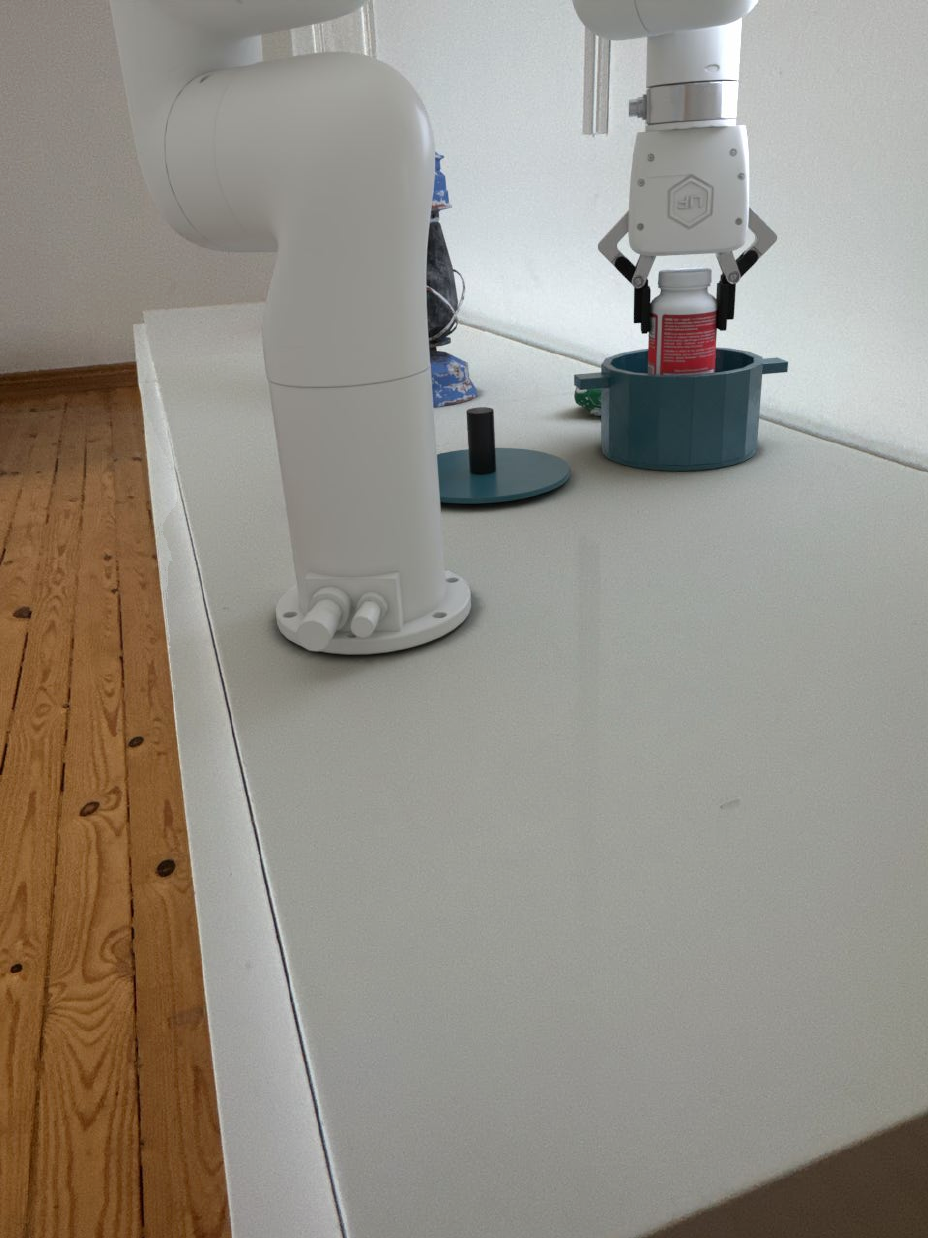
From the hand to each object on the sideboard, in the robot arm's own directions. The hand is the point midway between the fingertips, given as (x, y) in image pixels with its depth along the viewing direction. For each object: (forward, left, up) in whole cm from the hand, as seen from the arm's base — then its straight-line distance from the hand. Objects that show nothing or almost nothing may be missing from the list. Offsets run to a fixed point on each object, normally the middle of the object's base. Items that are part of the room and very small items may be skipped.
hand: (682, 327), depth 89 cm
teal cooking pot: (0, 0, -11) cm, 11 cm away
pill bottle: (0, 0, -6) cm, 6 cm away
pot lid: (-10, +18, -11) cm, 23 cm away
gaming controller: (+15, +6, -12) cm, 20 cm away
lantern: (+27, +29, -12) cm, 41 cm away
